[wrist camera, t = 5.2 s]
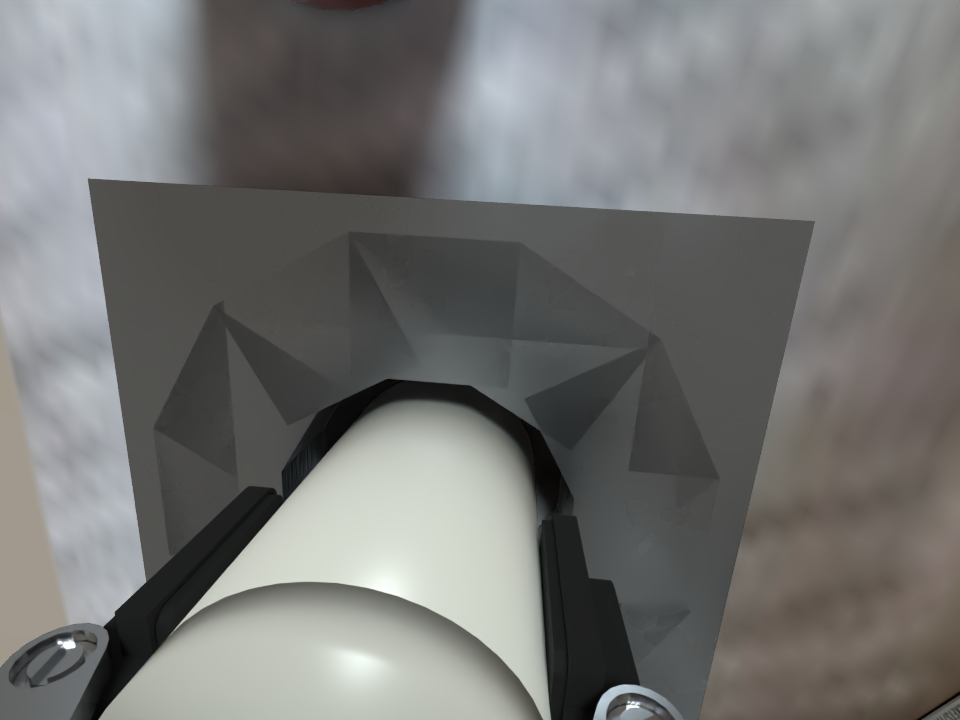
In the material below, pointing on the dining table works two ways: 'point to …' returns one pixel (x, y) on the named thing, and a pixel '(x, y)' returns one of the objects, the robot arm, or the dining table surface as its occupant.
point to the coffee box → (946, 711)
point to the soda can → (341, 4)
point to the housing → (462, 364)
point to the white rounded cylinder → (377, 583)
